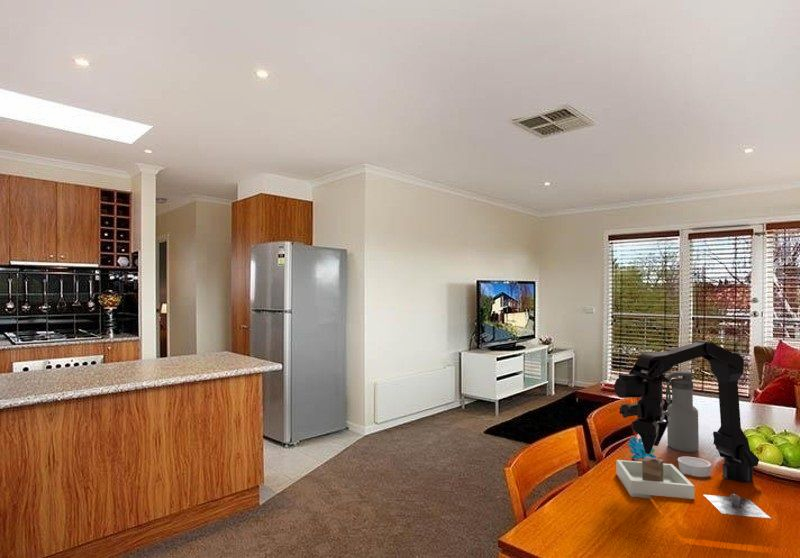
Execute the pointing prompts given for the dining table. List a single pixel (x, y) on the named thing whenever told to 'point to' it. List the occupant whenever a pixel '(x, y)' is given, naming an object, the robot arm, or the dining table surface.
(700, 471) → the ramekin
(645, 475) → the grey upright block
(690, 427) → the water bottle
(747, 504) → the stud plate
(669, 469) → the bin
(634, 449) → the blue coral
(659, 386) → the robot arm
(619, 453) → the dining table surface
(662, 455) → the dining table surface
